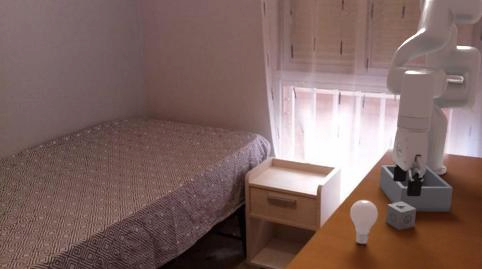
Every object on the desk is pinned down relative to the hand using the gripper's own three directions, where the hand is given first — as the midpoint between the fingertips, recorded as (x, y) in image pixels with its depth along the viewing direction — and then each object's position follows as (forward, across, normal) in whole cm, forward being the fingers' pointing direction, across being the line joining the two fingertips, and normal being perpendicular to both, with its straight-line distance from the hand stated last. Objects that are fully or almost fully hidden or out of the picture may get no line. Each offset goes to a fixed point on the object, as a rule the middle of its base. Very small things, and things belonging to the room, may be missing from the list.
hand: (406, 188), depth 115 cm
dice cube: (+11, -2, 0) cm, 11 cm away
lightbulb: (+11, +8, -13) cm, 19 cm away
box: (+10, -18, +9) cm, 22 cm away
